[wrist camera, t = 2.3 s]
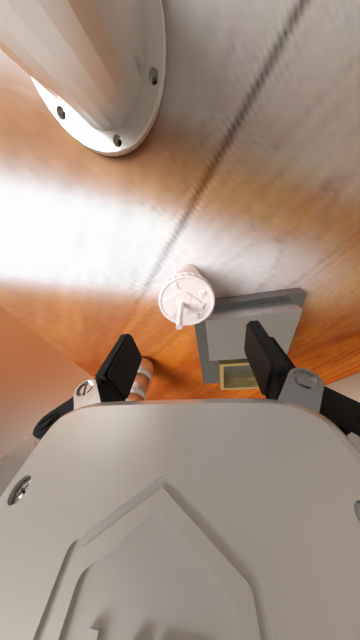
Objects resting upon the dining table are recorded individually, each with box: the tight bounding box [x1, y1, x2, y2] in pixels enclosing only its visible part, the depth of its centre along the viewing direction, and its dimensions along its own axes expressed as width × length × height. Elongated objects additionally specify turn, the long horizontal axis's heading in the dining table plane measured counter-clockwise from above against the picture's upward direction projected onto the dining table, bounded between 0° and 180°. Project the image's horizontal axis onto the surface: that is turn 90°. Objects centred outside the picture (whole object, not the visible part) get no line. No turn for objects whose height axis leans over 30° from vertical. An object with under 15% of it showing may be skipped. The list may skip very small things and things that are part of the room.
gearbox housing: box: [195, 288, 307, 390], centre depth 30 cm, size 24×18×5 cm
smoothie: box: [159, 264, 215, 329], centre depth 18 cm, size 6×6×14 cm
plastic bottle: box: [125, 357, 154, 401], centre depth 30 cm, size 6×7×20 cm
